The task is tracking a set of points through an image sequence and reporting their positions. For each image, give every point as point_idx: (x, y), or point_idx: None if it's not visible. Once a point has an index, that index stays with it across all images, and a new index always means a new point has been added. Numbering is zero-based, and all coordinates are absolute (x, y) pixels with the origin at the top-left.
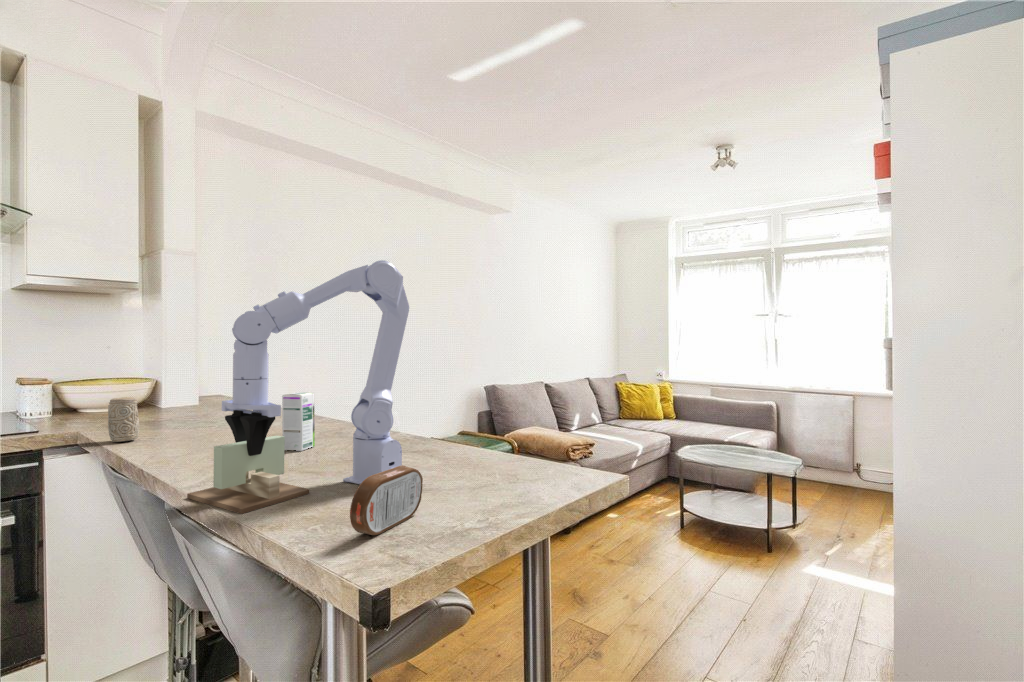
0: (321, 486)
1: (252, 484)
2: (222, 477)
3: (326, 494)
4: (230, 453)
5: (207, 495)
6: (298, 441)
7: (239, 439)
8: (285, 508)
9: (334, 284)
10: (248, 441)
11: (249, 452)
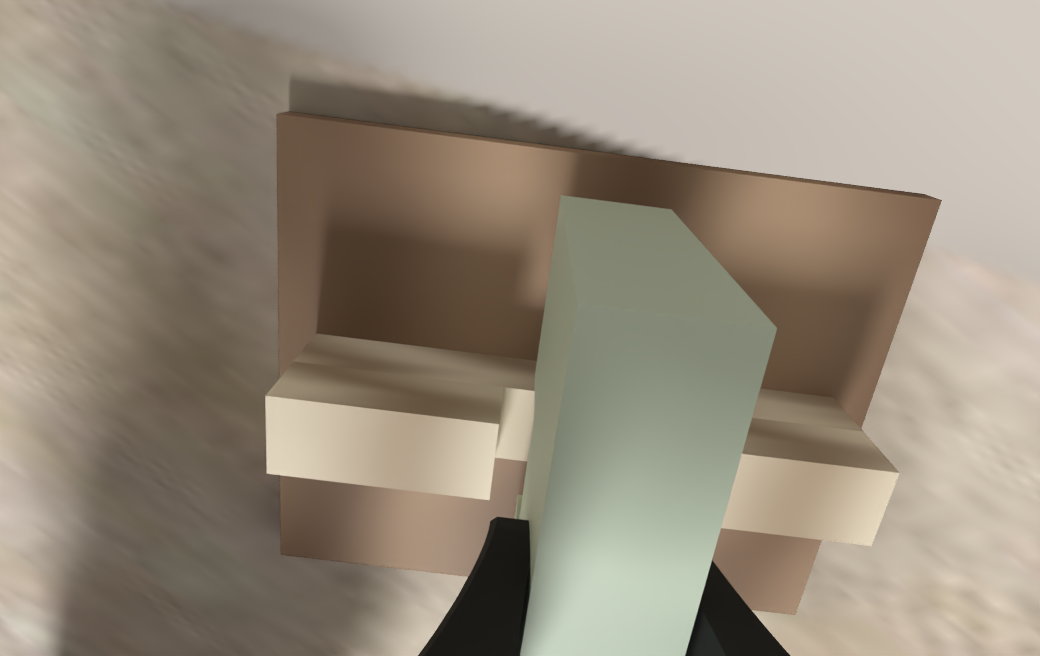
0: (346, 645)
1: (484, 385)
2: (562, 221)
3: (196, 557)
4: (558, 373)
5: (762, 229)
6: None
7: (709, 652)
8: (163, 299)
9: None
10: (480, 606)
11: (501, 532)
